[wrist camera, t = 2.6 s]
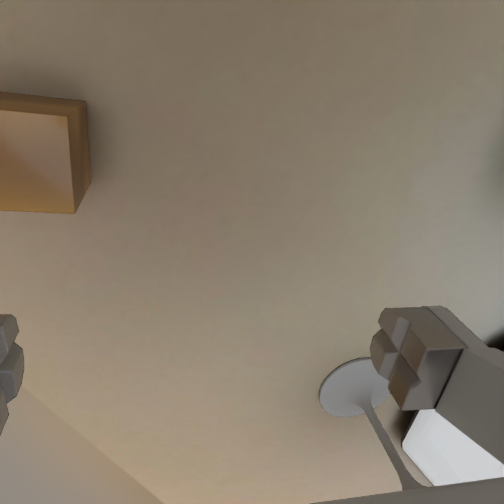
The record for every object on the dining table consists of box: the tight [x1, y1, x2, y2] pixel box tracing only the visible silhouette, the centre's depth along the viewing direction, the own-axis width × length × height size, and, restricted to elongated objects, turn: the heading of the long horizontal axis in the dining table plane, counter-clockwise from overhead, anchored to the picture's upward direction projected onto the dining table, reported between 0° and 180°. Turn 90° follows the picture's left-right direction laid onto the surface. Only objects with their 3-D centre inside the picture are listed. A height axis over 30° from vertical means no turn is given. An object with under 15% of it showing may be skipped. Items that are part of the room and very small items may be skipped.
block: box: [0, 92, 91, 214], centre depth 19 cm, size 4×4×4 cm
